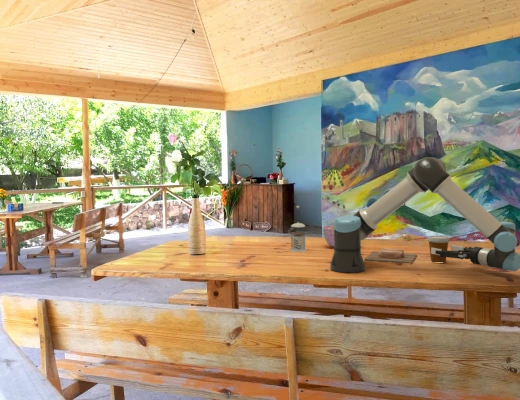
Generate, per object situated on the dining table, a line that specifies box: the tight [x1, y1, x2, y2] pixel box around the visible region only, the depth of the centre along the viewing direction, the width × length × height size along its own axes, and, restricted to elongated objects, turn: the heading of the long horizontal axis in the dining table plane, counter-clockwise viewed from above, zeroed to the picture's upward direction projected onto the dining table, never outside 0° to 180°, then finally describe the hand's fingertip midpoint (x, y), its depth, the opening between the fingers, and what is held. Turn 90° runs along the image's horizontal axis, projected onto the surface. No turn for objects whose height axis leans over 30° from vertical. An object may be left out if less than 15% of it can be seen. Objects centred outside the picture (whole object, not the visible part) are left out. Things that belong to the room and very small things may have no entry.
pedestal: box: [363, 247, 418, 265], centre depth 223 cm, size 22×22×4 cm
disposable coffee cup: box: [427, 235, 450, 263], centre depth 211 cm, size 10×10×12 cm
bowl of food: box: [322, 224, 334, 249], centre depth 257 cm, size 20×20×12 cm
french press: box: [287, 205, 308, 253], centre depth 249 cm, size 10×12×25 cm
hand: (441, 249), depth 210 cm, fingers open, 13 cm apart
